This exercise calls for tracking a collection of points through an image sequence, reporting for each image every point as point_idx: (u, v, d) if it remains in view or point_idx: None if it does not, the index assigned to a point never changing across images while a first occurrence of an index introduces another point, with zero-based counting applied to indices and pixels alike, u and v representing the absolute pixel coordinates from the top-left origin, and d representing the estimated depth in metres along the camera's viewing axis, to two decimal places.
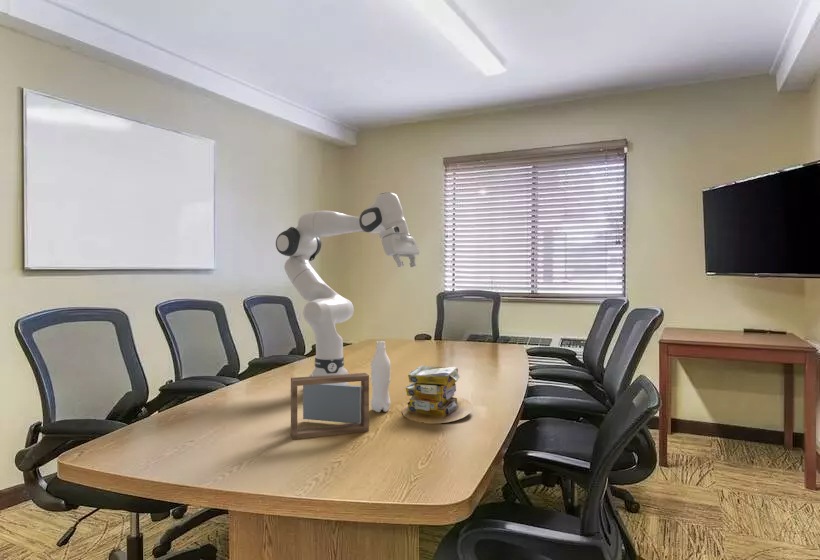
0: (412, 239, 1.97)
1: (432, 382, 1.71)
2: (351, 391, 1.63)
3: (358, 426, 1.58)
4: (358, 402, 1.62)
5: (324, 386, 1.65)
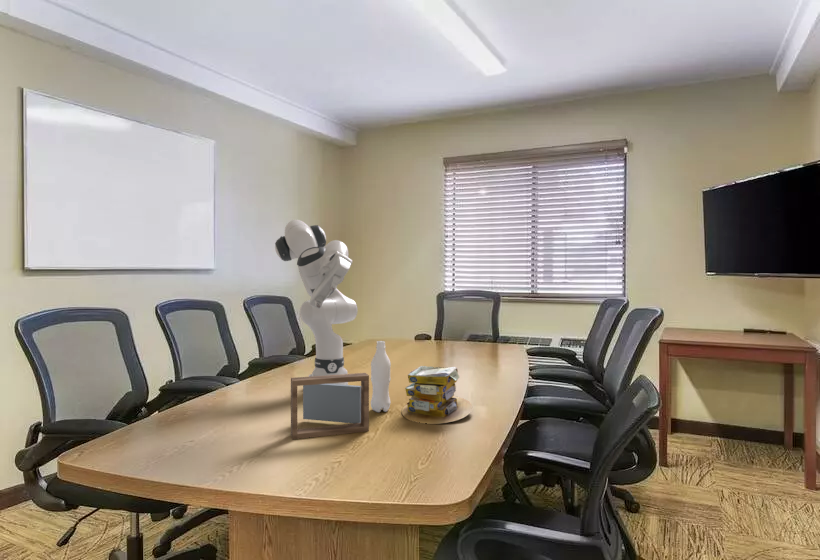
0: None
1: (432, 382, 1.71)
2: (351, 391, 1.63)
3: (358, 426, 1.58)
4: (358, 402, 1.62)
5: (324, 386, 1.65)
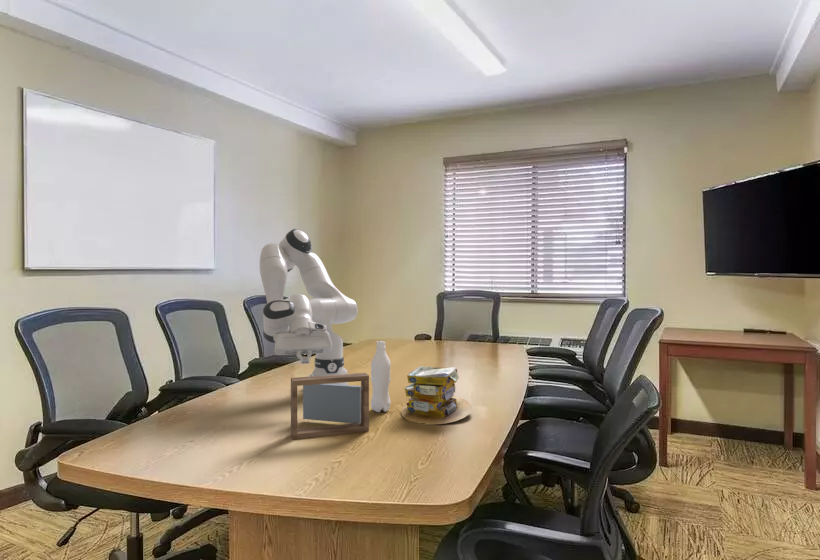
0: None
1: (431, 383, 1.70)
2: (351, 391, 1.63)
3: (358, 426, 1.58)
4: (358, 402, 1.62)
5: (324, 386, 1.65)
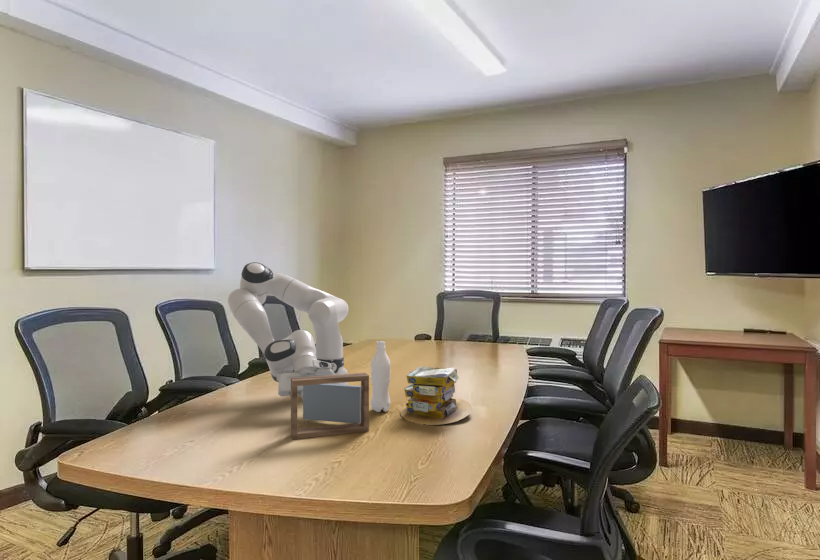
0: None
1: (431, 383, 1.70)
2: (351, 391, 1.63)
3: (358, 426, 1.58)
4: (358, 402, 1.62)
5: (324, 386, 1.65)
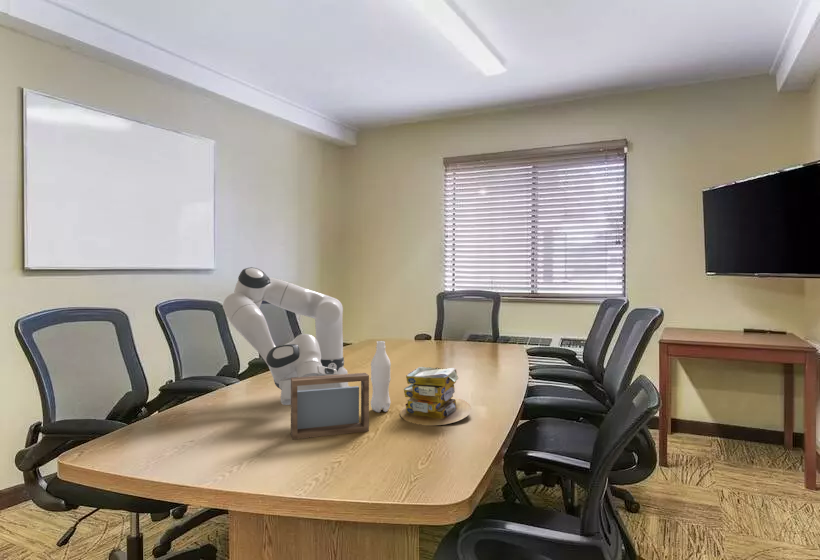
0: None
1: (430, 383, 1.69)
2: (350, 392, 1.61)
3: (358, 426, 1.58)
4: (357, 402, 1.62)
5: (320, 392, 1.58)
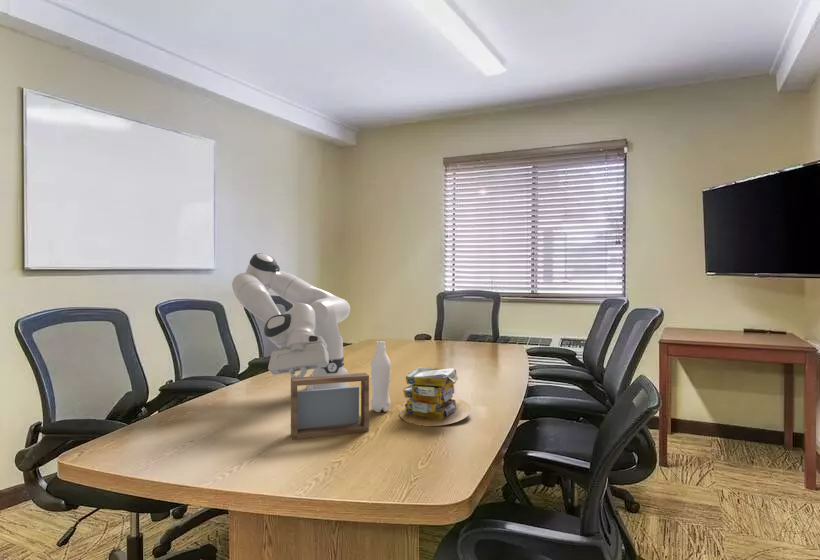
0: None
1: (430, 384, 1.69)
2: (350, 392, 1.61)
3: (358, 426, 1.58)
4: (357, 402, 1.62)
5: (320, 392, 1.58)
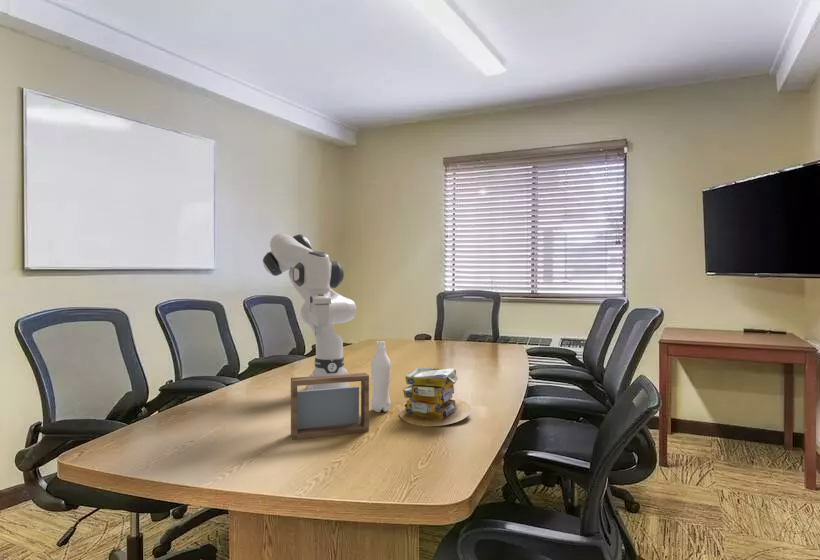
0: None
1: (429, 384, 1.68)
2: (350, 392, 1.61)
3: (358, 426, 1.58)
4: (357, 402, 1.62)
5: (320, 392, 1.58)
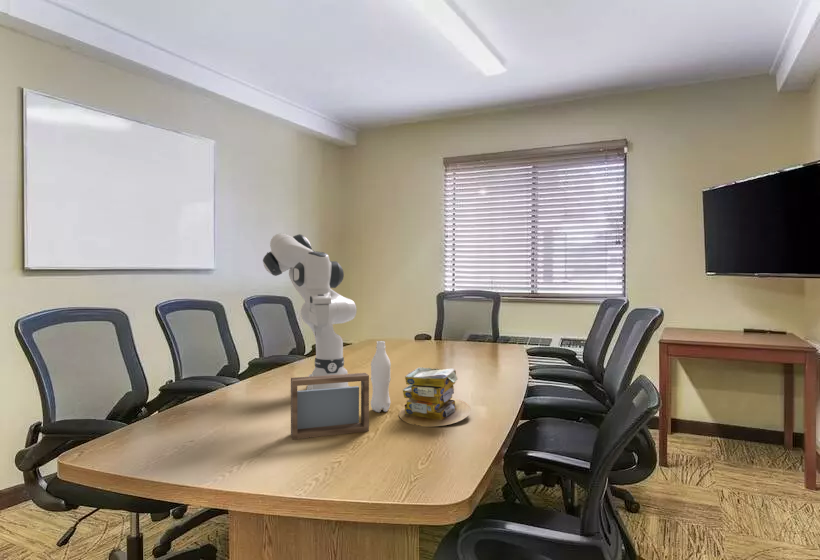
0: None
1: (429, 384, 1.68)
2: (350, 392, 1.61)
3: (358, 426, 1.58)
4: (357, 402, 1.62)
5: (320, 392, 1.58)
